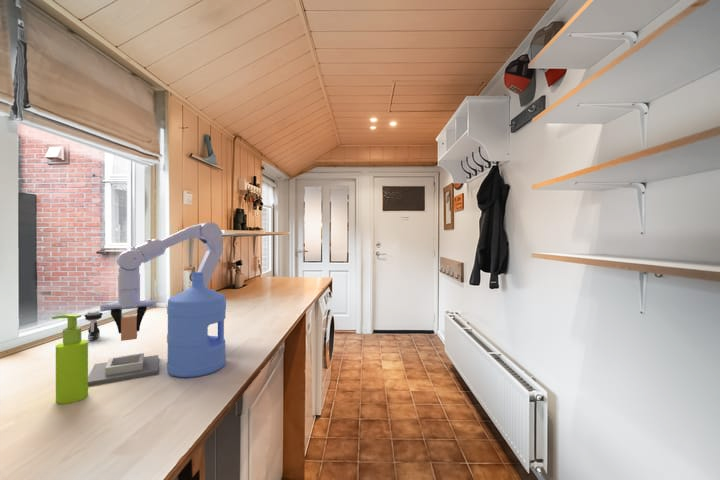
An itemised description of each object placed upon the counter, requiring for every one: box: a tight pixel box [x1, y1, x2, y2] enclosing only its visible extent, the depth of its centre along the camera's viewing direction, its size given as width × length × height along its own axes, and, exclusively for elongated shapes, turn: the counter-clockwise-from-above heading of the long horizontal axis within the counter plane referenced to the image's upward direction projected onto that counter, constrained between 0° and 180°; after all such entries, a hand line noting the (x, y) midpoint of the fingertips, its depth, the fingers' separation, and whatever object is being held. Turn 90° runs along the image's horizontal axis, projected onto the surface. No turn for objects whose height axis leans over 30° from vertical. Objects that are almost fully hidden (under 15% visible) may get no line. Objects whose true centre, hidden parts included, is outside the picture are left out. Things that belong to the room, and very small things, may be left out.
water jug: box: [166, 272, 227, 378], centre depth 100 cm, size 16×16×28 cm
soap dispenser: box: [51, 313, 89, 405], centre depth 81 cm, size 6×7×20 cm
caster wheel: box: [83, 310, 103, 341], centre depth 125 cm, size 7×5×10 cm
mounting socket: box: [88, 353, 159, 387], centre depth 97 cm, size 16×14×3 cm
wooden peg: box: [120, 313, 138, 342], centre depth 108 cm, size 4×4×7 cm
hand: (129, 331), depth 108 cm, fingers closed on wooden peg, 4 cm apart
